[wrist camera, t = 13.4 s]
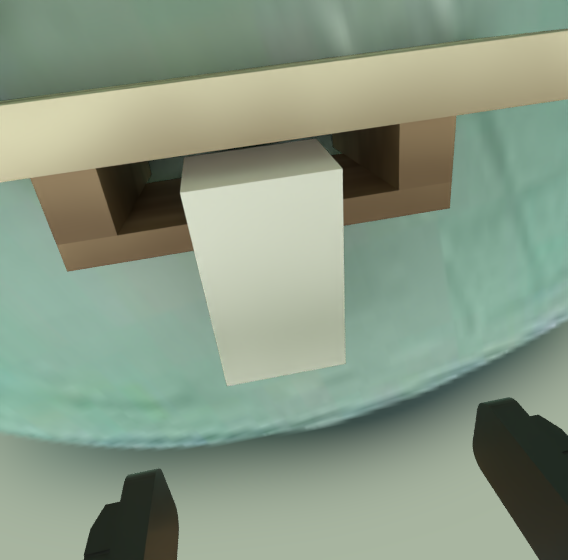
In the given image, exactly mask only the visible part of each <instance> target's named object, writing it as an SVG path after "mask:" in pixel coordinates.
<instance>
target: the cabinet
mask: <svg viewBox="0 0 568 560" xmlns="http://www.w3.org/2000/svg"><path fill="white" fill-rule="evenodd" d="M180 195H181V199H182V204H183V208H184V212H185V216H186V220H187V224H188V228H189V232H190V236H191V240H192V245H193V249H194V253H195V257H196V261H197V265H198V269H199V273H200V277H201V281H202V286H203V290H204V294H205V298H206V302H207V306H208V310H209V314H210V318H211V322H212V327H213V331H214V335H215V339H216V343H217V347H218V351H219V355H220V359H221V363H222V368H223V372H224V376H225V380H226V384H227V386H231V385H236V384H242V383H247V382H252V381H257V380H263V379H268V378H273V377H278V376H284V375H289V374H294V373H300V372H305V371H310V370H315V369H321V368H326V367H331V366H336V365H342V364H346V359H345V296H344V232H343V169H342V168H341V166H340V165H339V164H338V163H337V162H336V161H335V160H334V158H333V157H332V156H331V155H330V154H329V153H328V152H327V150H326V149H325V148H324V147H323V146H322V145H321V144H320V142H319V141H318V140H317V139H309V140H302V141H295V142H288V143H281V144H274V145H267V146H260V147H253V148H246V149H239V150H231V151H224V152H217V153H210V154H203V155H196V156H189V157H184V161H183V170H182V179H181V188H180Z"/></svg>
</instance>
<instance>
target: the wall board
mask: <svg viewBox="0 0 568 560" xmlns="http://www.w3.org/2000/svg"><path fill="white" fill-rule="evenodd" d="M565 99H568V29H560V30H551V31H542V32H533V33H523V34H514V35H505V36H496V37H486V38H477V39H469V40H462V41H454V42H447V43H439V44H431V45H424V46H416V47H408V48H401V49H393V50H386V51H378V52H370V53H363V54H355V55H347V56H340V57H332V58H325V59H317V60H309V61H302V62H294V63H287V64H279V65H271V66H264V67H256V68H248V69H241V70H233V71H226V72H218V73H210V74H203V75H195V76H187V77H180V78H172V79H165V80H157V81H149V82H142V83H134V84H126V85H119V86H111V87H104V88H96V89H88V90H81V91H73V92H66V93H58V94H50V95H43V96H35V97H27V98H20V99H12V100H5V101H0V182H6V181H13V180H20V179H27V178H30V179H31V181H32V184H33V186H34V189H35V191H36V194H37V196H38V199H39V201H40V204H41V206H42V209H43V211H44V214H45V216H46V219H47V222H48V224H49V227H50V229H51V232H52V234H53V237H54V239H55V242H56V244H57V247H58V249H59V252H60V254H61V257H62V259H63V262H64V264H65V267H66V269H67V272H68V271H74V270H80V269H86V268H92V267H98V266H104V265H110V264H116V263H122V262H128V261H134V260H140V259H146V258H152V257H158V256H164V255H170V254H176V253H182V252H188V251H194V249H193V245H192V240H191V236H190V232H189V228H188V224H187V220H186V216H185V212H184V208H183V204H182V199H181V195H180V188H181V179H182V178H178V179H172V180H165V181H159V182H152V183H147V181H148V180H149V178H150V176H151V171H150V167H149V163H148V161H149V160H156V159H163V158H170V157H177V156H183V155H190V154H197V153H204V152H211V151H217V150H224V149H231V148H238V147H245V146H251V145H258V144H265V143H272V142H279V141H286V140H292V139H299V138H306V137H313V136H320V135H326V134H332V138H333V147H334V148H335V149H337V150H338V151H340V152H341V153H343V154H337V155H331V156H332V157H333V158H334V160H335V161H336V162H337V163H338V164H339V165H340V166H341V168H342V169H343V226H345V225H351V224H357V223H363V222H369V221H375V220H381V219H387V218H394V217H400V216H406V215H412V214H418V213H424V212H430V211H436V210H442V209H448V208H450V197H451V183H452V169H453V155H454V141H455V127H456V115H463V114H470V113H476V112H483V111H490V110H497V109H504V108H511V107H517V106H524V105H531V104H538V103H545V102H551V101H558V100H565Z"/></svg>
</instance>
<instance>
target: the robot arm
mask: <svg viewBox="0 0 568 560" xmlns="http://www.w3.org/2000/svg"><path fill="white" fill-rule="evenodd" d="M473 452H474V455H475V459H476V461H477V463H478V466H479V467H480V469H481V471H482V472H483V474H484V475H485V477H486V478H487V480H488V482H489V483H490V485H491V486H492V488H493V489H494V491H495V492H496V494H497V495H498V497H499V498H500V500H501V502H502V503H503V505H504V506H505V508H506V509H507V511H508V512H509V514H510V515H511V517H512V518H513V520H514V521H515V523H516V524H517V526H518V527H519V529H520V531H521V532H522V534H523V535H524V537H525V538H526V540H527V541H528V543H529V544H530V546H531V548H532V549H533V551H534V552H535V554H536V555H537V557H538V558H539V560H568V435H567V434H565V432H564V431H563V430H562V429H560V428H559V427H557V426H556V425H554V424H552V423H551V422H549V421H548V420H546V419H545V418H543V417H541V416H540V415H534V416H529V415H528V414H527V413H526V411H525V410H524V409H523V408H522V407H521V406H520V405H519V403H518V402H517V401H515V400H514V399H512V398H503V399H499V400H494V401H489V402H484V403H480V404H479V406H478V409H477V415H476V423H475V430H474V437H473ZM178 535H179V523H178V514H177V509H176V506H175V503H174V500H173V498H172V495H171V492H170V490H169V488H168V485H167V483H166V480H165V477H164V475H163V472H162V470H161V469H154V470H150V471H145V472H140V473H135V474H130V475H128V476H127V477H126V479H125V481H124V486H123V490H122V495H121V500H120V502H117V503H112V504H107V505H105V507H104V508H103V510H102V511H101V513H100V515H99V516H98V518H97V519H96V521H95V523H94V524H93V526H92V528H91V529H90V533H89V537H88V541H87V545H86V549H85V553H84V560H177V549H178Z"/></svg>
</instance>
